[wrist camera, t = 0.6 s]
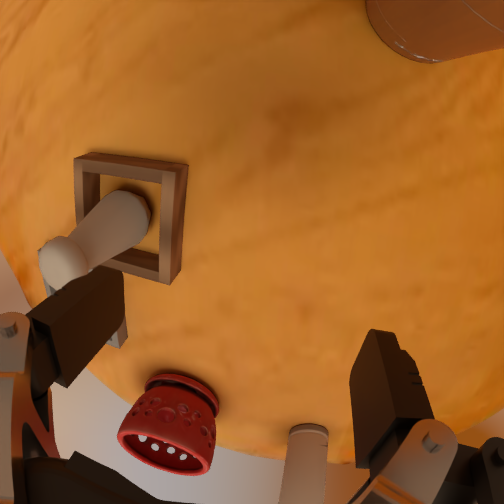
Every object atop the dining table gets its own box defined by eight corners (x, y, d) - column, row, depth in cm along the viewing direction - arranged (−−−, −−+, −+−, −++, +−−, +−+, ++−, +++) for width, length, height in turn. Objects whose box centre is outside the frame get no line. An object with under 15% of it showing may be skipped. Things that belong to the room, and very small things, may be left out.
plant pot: (166, 413, 48) (142, 468, 37) (134, 362, 42) (98, 422, 32) (237, 420, 45) (220, 484, 34) (214, 366, 39) (186, 441, 29)
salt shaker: (115, 177, 29) (24, 225, 18) (162, 193, 29) (80, 254, 18) (109, 226, 32) (31, 287, 21) (153, 244, 32) (82, 317, 21)
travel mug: (336, 426, 42) (328, 544, 24) (318, 444, 45) (306, 549, 27) (299, 418, 42) (281, 540, 24) (283, 436, 45) (264, 544, 27)
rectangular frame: (91, 152, 29) (73, 158, 26) (188, 165, 28) (175, 172, 25) (94, 247, 34) (80, 258, 31) (180, 270, 33) (169, 285, 30)
